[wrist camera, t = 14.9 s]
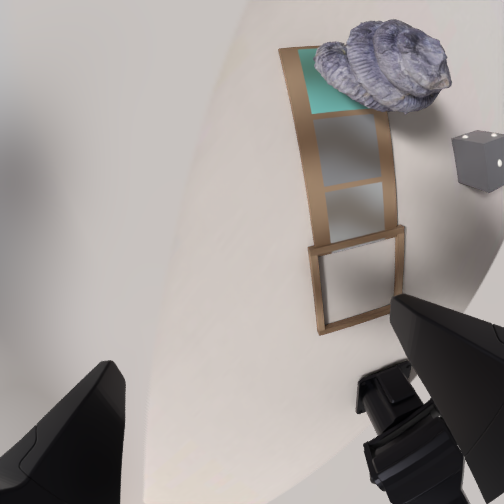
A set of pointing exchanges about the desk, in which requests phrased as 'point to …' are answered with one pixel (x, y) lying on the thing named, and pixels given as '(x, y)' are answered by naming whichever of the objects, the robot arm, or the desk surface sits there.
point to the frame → (343, 244)
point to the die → (480, 159)
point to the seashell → (386, 66)
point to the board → (340, 155)
